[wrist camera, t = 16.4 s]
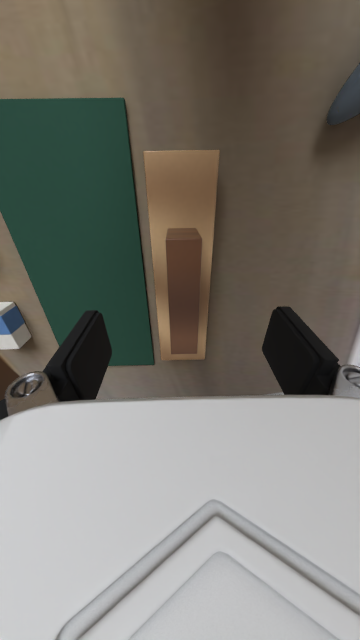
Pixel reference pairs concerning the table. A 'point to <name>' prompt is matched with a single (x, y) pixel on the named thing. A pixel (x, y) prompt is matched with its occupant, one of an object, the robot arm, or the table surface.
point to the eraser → (12, 327)
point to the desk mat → (77, 215)
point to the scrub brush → (182, 245)
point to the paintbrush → (346, 100)
